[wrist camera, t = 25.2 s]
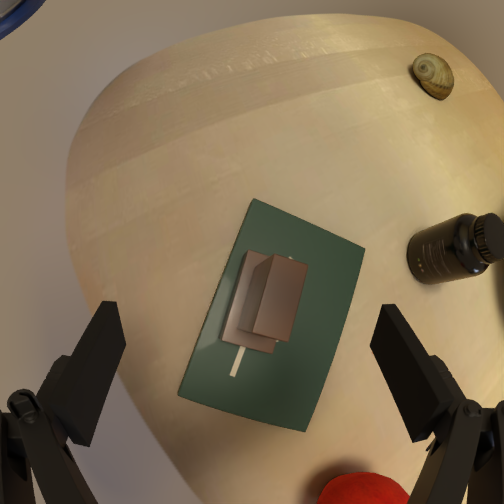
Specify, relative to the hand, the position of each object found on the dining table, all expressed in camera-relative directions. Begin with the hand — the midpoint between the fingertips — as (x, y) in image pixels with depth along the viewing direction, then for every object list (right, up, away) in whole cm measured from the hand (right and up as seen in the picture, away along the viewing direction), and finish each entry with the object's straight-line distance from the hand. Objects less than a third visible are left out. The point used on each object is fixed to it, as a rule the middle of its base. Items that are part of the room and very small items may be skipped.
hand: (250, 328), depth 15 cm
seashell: (+31, +34, +29) cm, 54 cm away
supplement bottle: (+22, +3, +21) cm, 30 cm away
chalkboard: (+3, -3, +16) cm, 16 cm away
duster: (0, -1, +14) cm, 14 cm away
